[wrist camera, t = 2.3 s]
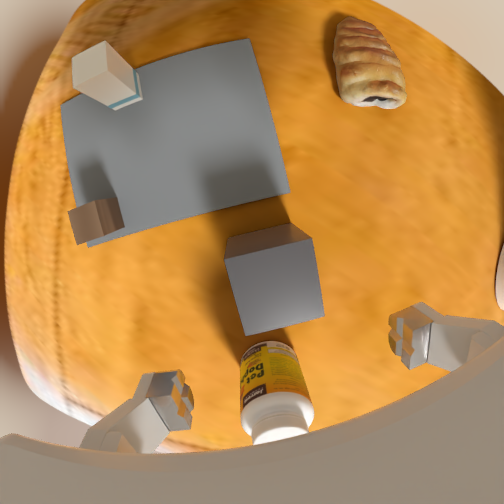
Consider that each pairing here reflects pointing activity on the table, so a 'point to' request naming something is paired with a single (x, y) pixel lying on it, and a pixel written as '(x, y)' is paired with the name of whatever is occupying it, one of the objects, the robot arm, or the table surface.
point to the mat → (178, 141)
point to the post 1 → (106, 76)
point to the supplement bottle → (273, 393)
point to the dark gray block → (274, 278)
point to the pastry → (367, 66)
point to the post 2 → (96, 219)
